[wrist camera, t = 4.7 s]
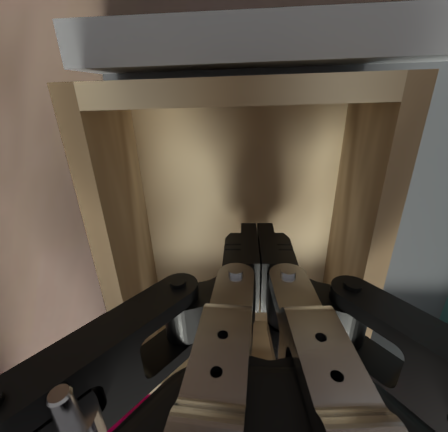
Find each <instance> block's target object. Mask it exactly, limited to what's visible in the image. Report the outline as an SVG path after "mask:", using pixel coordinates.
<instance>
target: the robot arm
mask: <svg viewBox="0 0 448 432" xmlns="http://www.w3.org/2000/svg"><path fill="white" fill-rule="evenodd" d="M259 299H260V311H261V312H265V313H267V333H268V337H269V342H270V347H271V352H272V357H273V360H265V359H262V358H258V357H254V356H252V346H253V324H254V322H255V312H259ZM164 325H165V327H166V328H165V329H163V330H162V331H161V332H159V333H158V334H157V335H155V336H154V337H153V338H151V339H150V340H149V341H147V342H146V343H145V344H143V345H142V343H143V342H144V341H145V339H146V338H148V337H149V336H150V335H152V334H153V333H154V332H156V331H157V330H158V329H160V328H161V327H162V326H164ZM367 327H368V328H370V329H371V330H373V331H375V332H376V333H378V334H379V335H381V336H382V337H384V338H385V339H387V340H388V341H390V342H392V343H393V344H395V345H396V346H397V347H398V348H399V349H400V350H401V351H402V353H403V355H404V359H405V361H403V360H401V359H400V358H398V357H397V356H395V355H394V354H392V353H391V352H389V351H388V350H386V349H385V348H383V347H382V346H380V345H379V344H377V343H376V342H375V341H373V340H372V339H370V338H369V337H367V336H366V335H365V333H366V329H367ZM141 345H142V346H141ZM188 358H189V360H188V364H187V367H185V368H183V369H181V370H179V371H178V372H176V373H174V374H173V375H172V376H170V377H169V378H168V379H167V380H166V381H164V382H163V383H162V384H161V385H160V386H159V387H158V388H157V389H156V390H155V391H154V392H153V393H152V394H151V395H150V396H149V397H148V398H147V399H146V400H145V401H144V402H143V403H141V404H140V405H139V406H138V407H137V408H136V409H135V410H134V411H133V412H132V413H131V414H130V415H129V416H128V417H127V418H126V419H125V420H124V421H123V422H122V423H121V424H120V425H119V426H117V427H116V428H115V429H114V430H113V431H112V432H448V323H446V322H444V321H442V320H440V319H438V318H436V317H434V316H432V315H430V314H428V313H426V312H424V311H423V310H421V309H419V308H417V307H415V306H413V305H411V304H409V303H407V302H405V301H403V300H401V299H399V298H398V297H396V296H394V295H392V294H390V293H388V292H386V291H384V290H382V289H380V288H378V287H376V286H375V285H373V284H371V283H369V282H367V281H365V280H363V279H361V278H358V277H355V276H349V275H342V276H337V277H335V278H334V279H333V280H332V281H331V285H330V284H326V283H321V282H317V281H314V280H312V279H309V277H308V275H307V273H306V271H305V270H304V269H303V268H301V267H299V265H298V262H297V259H296V256H295V253H294V251H293V247H292V243H291V240H290V238H289V237H288V236H287V235H286V234H284V233H275V232H274V228H273V224H272V223H257V228H256V223H241V233H230V234H229V235H228V236H227V237H226V238H225V245H224V253H223V262H222V267H221V268H220V269H219V270H218V273H217V276H216V277H214V278H212V279H210V280H207V281H202V282H198V281H197V279H196V278H195V277H194V276H193V275H191V274H187V273H176V274H172V275H170V276H167V277H166V278H164V279H162V280H161V281H159V282H157V283H155V284H154V285H152V286H150V287H149V288H147V289H145V290H144V291H142V292H140V293H138V294H137V295H135V296H133V297H132V298H130V299H128V300H127V301H125V302H123V303H121V304H120V305H118V306H116V307H115V308H113V309H111V310H110V311H108V312H106V313H105V314H103V315H101V316H99V317H98V318H96V319H94V320H93V321H91V322H89V323H88V324H86V325H84V326H82V327H81V328H79V329H77V330H76V331H74V332H72V333H71V334H69V335H67V336H65V337H64V338H62V339H60V340H59V341H57V342H55V343H54V344H52V345H50V346H49V347H47V348H45V349H43V350H42V351H40V352H38V353H37V354H35V355H33V356H32V357H30V358H28V359H26V360H25V361H23V362H21V363H20V364H18V365H16V366H15V367H13V368H11V369H9V370H8V371H6V372H4V373H3V374H1V375H0V432H107V431H108V430H109V429H110V428H111V427H112V426H113V425H114V424H115V423H117V422H118V421H119V420H120V419H121V418H122V417H123V416H124V415H126V414H127V413H128V412H129V411H130V410H131V409H132V408H133V407H134V406H136V405H137V404H138V403H139V402H140V401H141V400H142V399H143V398H144V397H146V396H147V395H148V394H149V393H150V392H151V391H152V390H153V389H155V388H156V387H157V386H158V385H159V384H160V383H161V382H162V381H163V380H165V379H166V378H167V377H168V376H169V375H170V374H171V373H172V372H173V371H175V370H176V369H177V368H178V367H179V366H180V365H181V364H182V363H184V362H185V361H186V360H187V359H188Z"/></svg>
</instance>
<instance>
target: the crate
mask: <svg viewBox="0 0 448 432" xmlns="http://www.w3.org/2000/svg"><path fill="white" fill-rule="evenodd" d="M438 72H439V69H416V70H388V71H360V72H332V73H304V74H276V75H248V76H220V77H192V78H164V79H136V80H108V81H80V82H52V83H47V85H48V89H49V93H50V97H51V101H52V104H53V108H54V112H55V116H56V120H57V123H58V127H59V131H60V135H61V139H62V143H63V146H64V150H65V154H66V158H67V162H68V166H69V169H70V173H71V177H72V181H73V185H74V189H75V192H76V196H77V200H78V204H79V208H80V212H81V215H82V219H83V223H84V227H85V231H86V234H87V238H88V242H89V246H90V250H91V254H92V257H93V261H94V265H95V269H96V273H97V277H98V280H99V284H100V288H101V292H102V296H103V300H104V303H105V307H106V311H107V312H108V311H110V310H111V309H113V308H115V307H116V306H118V305H120V304H121V303H123V302H125V301H127V300H128V299H130V298H132V297H133V296H135V295H137V294H138V293H140V292H142V291H144V290H145V289H147V288H149V287H150V286H152V285H154V284H155V283H157V282H159V281H161V280H162V279H164V278H166V277H167V276H170V275H172V274H176V273H187V274H191V275H193V276H194V277H195V278H196V279H197V281H198V282H202V281H207V280H210V279H212V278H214V277H216V276H217V273H218V270H219V269H220V268H221V267H222V262H223V253H224V245H225V238H226V237H227V236H228V235H229V234H230V233H241V223H256V228H257V223H272V224H273V228H274V232H275V233H284V234H286V235H287V236H288V237H289V238H290V240H291V243H292V247H293V251H294V253H295V256H296V259H297V262H298V265H299V267H301V268H303V269H304V270H305V271H306V273H307V275H308V277H309V279H312V280H314V281H317V282H321V283H326V284H330V285H331V281H332V280H333V279H334V278H335V277H337V276H342V275H349V276H355V277H358V278H361V279H363V280H365V281H367V282H369V283H371V284H373V285H375V286H376V287H378V288H380V289H382V290H383V288H384V284H385V280H386V276H387V272H388V268H389V264H390V260H391V256H392V253H393V249H394V245H395V241H396V237H397V233H398V229H399V225H400V221H401V217H402V213H403V209H404V205H405V201H406V197H407V194H408V190H409V186H410V182H411V178H412V174H413V170H414V166H415V162H416V158H417V154H418V150H419V146H420V142H421V138H422V135H423V131H424V127H425V123H426V119H427V115H428V111H429V107H430V103H431V99H432V95H433V91H434V87H435V83H436V79H437V76H438ZM165 328H166V327H165V325H164V326H162V327H161V328H160V329H158V330H157V331H156V332H154V333H153V334H152V335H150V336H149V337H148V338H146V339H145V341H144V342H143V343H142V345H143V344H145V343H146V342H147V341H149V340H150V339H151V338H153V337H154V336H155V335H157V334H158V333H159V332H161V331H162V330H163V329H165ZM372 331H373V330H371V329H370V328H368V327H367V329H366V333H365V335H366V336H367V337H369V338H370V339H371V335H372ZM142 345H141V346H142ZM252 356H254V357H258V358H262V359H265V360H273V357H272V352H271V347H270V342H269V337H268V333H267V313H265V312H261V311H260V299H259V312H255V322H254V324H253V346H252ZM188 360H189V358H188V359H187V360H186V361H185V362H184V363H182V364H181V365H180V366H179V367H178V368H177V369H176V370H175V371H173V372H172V373H171V374H170V375H169V376H168V377H167V378H166V379H165V380H163V381H162V382H161V383H160V384H159V385H158V386H157V387H156V388H155V389H153V390H152V391H151V392H150V393H149V394H152V393H153V392H154V391H155V390H156V389H157V388H158V387H159V386H160V385H161V384H162V383H163V382H164V381H166V380H167V379H168V378H169V377H170V376H172V375H173V374H174V373H176V372H178V371H179V370H181V369H183V368H185V367H187V364H188Z"/></svg>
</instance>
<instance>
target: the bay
mask: <svg viewBox="0 0 448 432" xmlns="http://www.w3.org/2000/svg"><path fill="white" fill-rule="evenodd" d="M53 24H54V28H55V32H56V36H57V41H58V45H59V49H60V53H61V58H62V62H63V66H64V69H65V70H73V71H81V72H89V73H97V74H103V79H104V81H108V80H136V79H164V78H192V77H220V76H248V75H276V74H304V73H332V72H360V71H388V70H416V69H439V72H438V76H437V79H436V83H435V87H434V91H433V95H432V99H431V103H430V107H429V111H428V115H427V119H426V123H425V127H424V131H423V135H422V138H421V142H420V146H419V150H418V154H417V158H416V162H415V166H414V170H413V174H412V178H411V182H410V186H409V190H408V194H407V197H406V201H405V205H404V209H403V213H402V217H401V221H400V225H399V229H398V233H397V237H396V241H395V245H394V249H393V253H392V256H391V260H390V264H389V268H388V272H387V276H386V280H385V284H384V288H383V290H384V291H386V292H388V293H390V294H392V295H394V296H396V297H398V298H399V299H401V300H403V301H405V302H407V303H409V304H411V305H413V306H415V307H417V308H419V309H421V310H423V311H424V312H426V313H428V314H430V315H432V316H434V317H436V318H438V319H440V320H442V321H444V322H446V323H448V0H412V1H392V2H373V3H353V4H333V5H314V6H294V7H274V8H255V9H235V10H215V11H196V12H176V13H156V14H137V15H117V16H97V17H78V18H58V19H53ZM371 339H372V340H373V341H375V342H376V343H377V344H379V345H380V346H382V347H383V348H385V349H386V350H388V351H389V352H391V353H392V354H394V355H395V356H397V357H398V358H400V359H401V360H403V361H405V359H404V355H403V353H402V351H401V350H400V349H399V348H398V347H397V346H396V345H395V344H393V343H392V342H390V341H388V340H387V339H385V338H384V337H382V336H381V335H379V334H378V333H376V332H375V331H372V335H371Z"/></svg>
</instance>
